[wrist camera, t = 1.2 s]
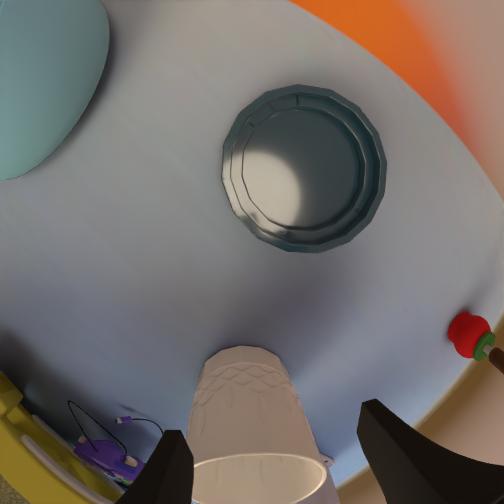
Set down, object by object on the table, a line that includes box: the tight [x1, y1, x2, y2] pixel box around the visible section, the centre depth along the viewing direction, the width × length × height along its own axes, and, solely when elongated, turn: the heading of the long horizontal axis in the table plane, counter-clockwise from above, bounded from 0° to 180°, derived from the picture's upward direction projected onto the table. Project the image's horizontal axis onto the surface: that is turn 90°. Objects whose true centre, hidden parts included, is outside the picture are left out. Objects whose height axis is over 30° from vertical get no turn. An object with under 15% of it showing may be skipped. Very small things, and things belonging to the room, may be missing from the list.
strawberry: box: [448, 312, 504, 374], centre depth 16 cm, size 4×4×11 cm
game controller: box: [68, 401, 163, 487], centre depth 20 cm, size 10×8×10 cm
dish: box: [221, 84, 387, 253], centre depth 16 cm, size 10×10×2 cm
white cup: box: [185, 345, 327, 504], centre depth 16 cm, size 8×8×10 cm
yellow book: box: [0, 370, 125, 504], centre depth 16 cm, size 16×21×5 cm
